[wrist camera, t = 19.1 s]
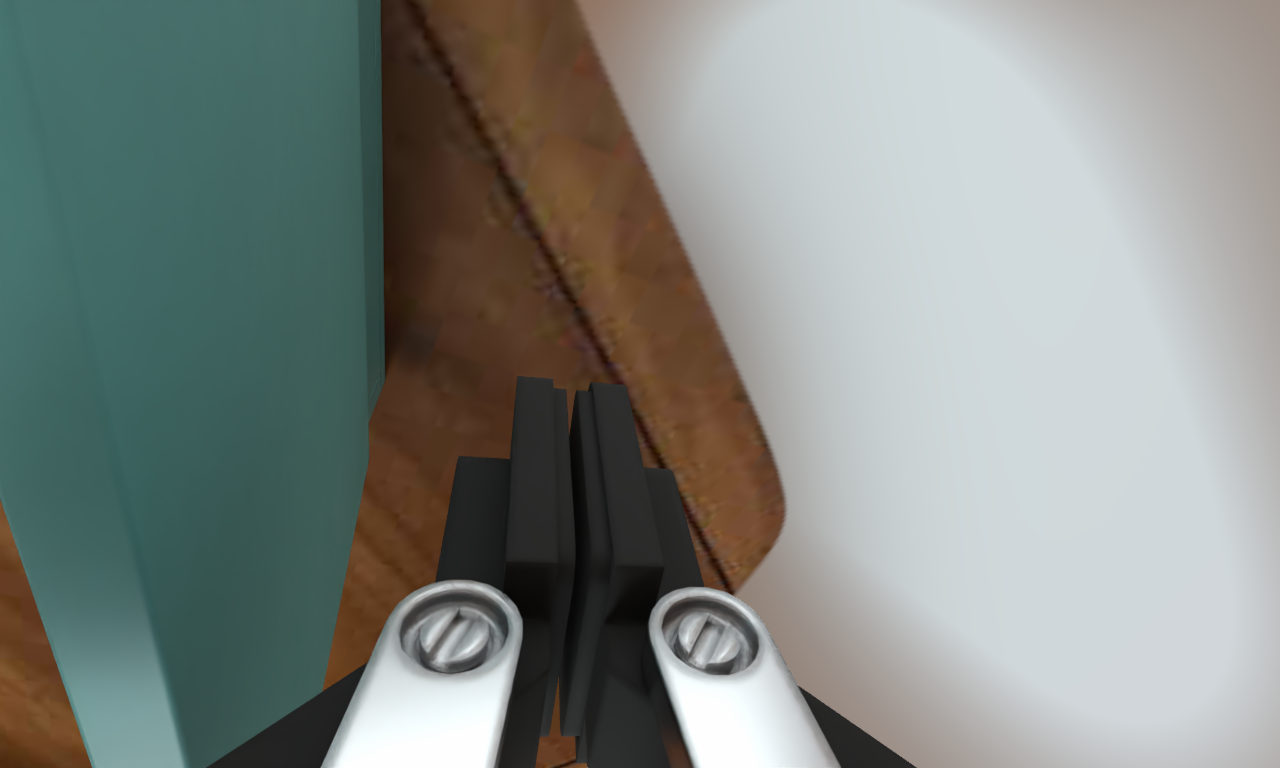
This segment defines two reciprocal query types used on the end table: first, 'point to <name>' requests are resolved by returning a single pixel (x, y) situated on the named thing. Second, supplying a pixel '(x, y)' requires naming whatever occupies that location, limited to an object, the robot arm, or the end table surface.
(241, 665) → the lunchbox lid
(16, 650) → the end table surface
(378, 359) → the box
